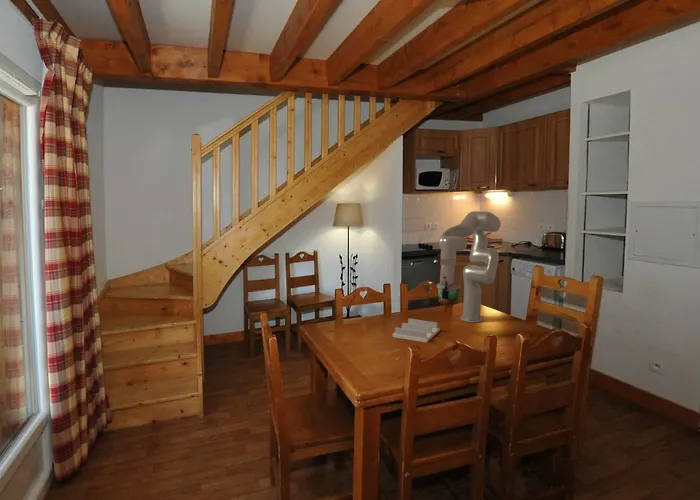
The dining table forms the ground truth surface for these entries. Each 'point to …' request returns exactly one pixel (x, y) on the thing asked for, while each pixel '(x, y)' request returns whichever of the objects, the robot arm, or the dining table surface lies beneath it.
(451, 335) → the dining table surface
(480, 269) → the robot arm
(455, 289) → the food container
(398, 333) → the rack
